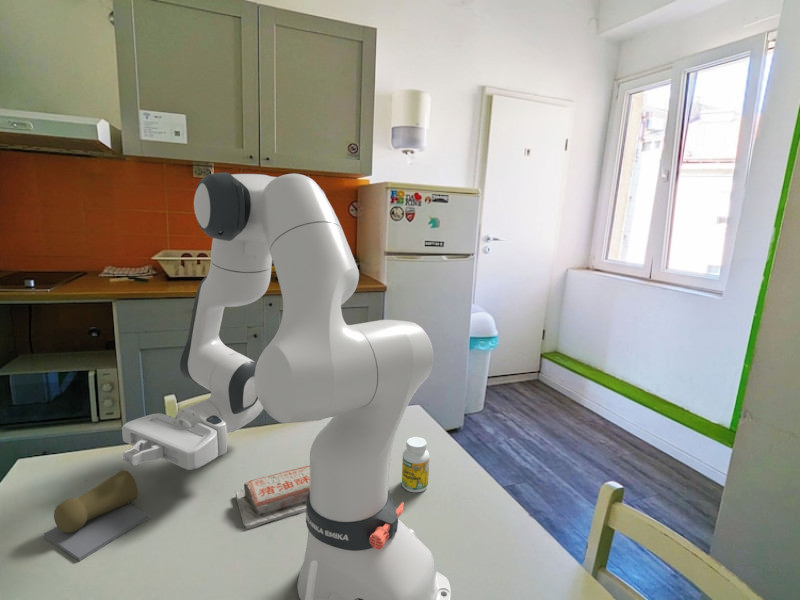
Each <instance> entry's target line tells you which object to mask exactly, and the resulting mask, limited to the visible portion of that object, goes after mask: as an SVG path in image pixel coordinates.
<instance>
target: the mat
mask: <svg viewBox="0 0 800 600" xmlns="http://www.w3.org/2000/svg"><path fill="white" fill-rule="evenodd" d="M149 518H150V514H149V513H147V512H145V511H144V510H141V509H139V508H137V507H136V506H133V505H132V504H130V503H128V504H125V505H123V506H121V507H118V508H116V509H114V510H111V511H109V512H107V513H104V514H102V515H100V516H97V517H95V518H92V519H90V520H88V521H86V523H85V525H84V526H82V527H81V528H80V529H78V530H76V531H74V532H71V533H64V532H62V531H61V530H60V529H59V528H58V527H57V526H56V527H54V528H52V529H49V530H48V531H47V532H44V533H43V538H45V539H46V540H48V541H49V542H51V543H52V544H53V545H55V546H56V547H58V548H60V549H61V550H62V551H64V552H66V554H68V555H70V556H71V557H73V558H74V559H75V560H77V561H78V562H81V561H83V559H84V560H85V559H86V558H87V557H89V556H91V555H92V554H94V553H95V552H97V551H99V550H100V549H102V548H103V547H105V546H107V545H108V544H110V543H112V542H113V541H115V540H116V539H118V538H119V537H122V535H125V534H126V533H127V532H129V531H131V530H132V529H134V528H136V527H137V526H138V525H141V524H142V523H144V522H145V521H146V520H148V519H149Z"/></svg>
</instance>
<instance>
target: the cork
mask: <svg viewBox="0 0 800 600" xmlns="http://www.w3.org/2000/svg"><path fill="white" fill-rule="evenodd" d="M138 495H139V488H138V484H137V481H136V479H135V477H134V476H133V474H131V473H130V471H128V470H125V469H121V470H119V471H118V472H116V473H114V474H113V475H111V476H110V477H108V478H107V479H105V480H104V481H102V482H100V483H99V484H98V485H96V486H95V487H93V488H91V489H90V490H89V489H88V490H87V491H86V492H85V493H83V494H82V495H80V496H78V497H76V498H75V497H71V498H67V499H65V500H62V502H60V503H59V504H58V505H57V506H56V507H55V509H54V512H53V519H54V523H55V525H56V527H58V528H59V529H60V530H61V531H62V532H64V533H71V532H74V531H76V530H78V529H80V528H81V527H82V526H84V525H85V523H86V521H88V520H90V519H92V518H95V517H97V516H100V515H102V514H104V513H107V512H109V511H111V510H114V509H116V508H118V507H121V506H123V505H125V504H130V503H132V502H133V503H134V501H136V500H137V498H138Z"/></svg>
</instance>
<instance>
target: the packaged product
mask: <svg viewBox="0 0 800 600" xmlns="http://www.w3.org/2000/svg"><path fill="white" fill-rule="evenodd" d="M243 487H244V488H243V489H238V490H236V491H235V499H236V502H237V505H238V508H239V512H240V517H241V520H242V524H243V525H244V527H245V530H249V529H252V528H257V527H259V526H261V525H264V524H266V523H269V522H274V521H277V520H281V519H284V518H288V517H292V516H295V515H297V514H301V513H304V512H305V513H306V504H307V495H308V493H309V491H310V464H309V465H305V466H303V467H297V468H293V469H289V470H286V471H285V470H284V471H282V472H278V473H275V474H270V475H267V476H263V477H260V478H255V479H249V480H247V481H246V482H244V485H243Z"/></svg>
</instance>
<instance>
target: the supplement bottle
mask: <svg viewBox="0 0 800 600" xmlns="http://www.w3.org/2000/svg"><path fill="white" fill-rule="evenodd" d="M427 444H428V443H427V440H426V439H424V438H423V437H419V436H412V437H409V438H408V439H407V440H406V446H405V447H406V448H405V449H403V452H402V462H401V463H402V464H401V465H402V467H401V469H402V470H401V485H402V487H403V488H404V489H405V490H406V491H408V492H411V493H422V492H424V491H425V490H427V488H428V486H429V477H430V475H429V471H430V458H431V457H430V453H429V451H428V450H427V448H428V445H427Z"/></svg>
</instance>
